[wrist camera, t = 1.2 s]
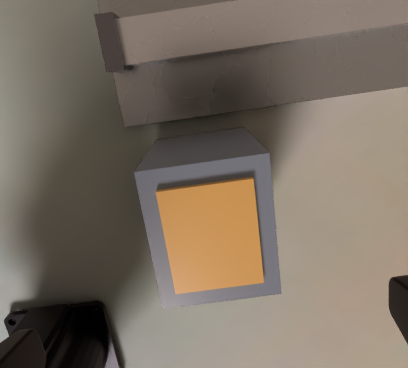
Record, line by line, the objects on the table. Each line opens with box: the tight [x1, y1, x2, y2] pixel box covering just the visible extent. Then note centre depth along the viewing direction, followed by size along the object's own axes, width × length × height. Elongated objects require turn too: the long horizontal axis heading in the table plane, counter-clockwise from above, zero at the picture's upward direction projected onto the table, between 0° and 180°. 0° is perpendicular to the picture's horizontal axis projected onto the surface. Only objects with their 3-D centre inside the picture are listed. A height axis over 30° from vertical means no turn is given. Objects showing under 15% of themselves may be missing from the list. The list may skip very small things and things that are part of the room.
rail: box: [94, 0, 408, 127], centre depth 16 cm, size 8×20×3 cm, turn 98°
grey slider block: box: [134, 127, 281, 309], centre depth 16 cm, size 6×5×7 cm
